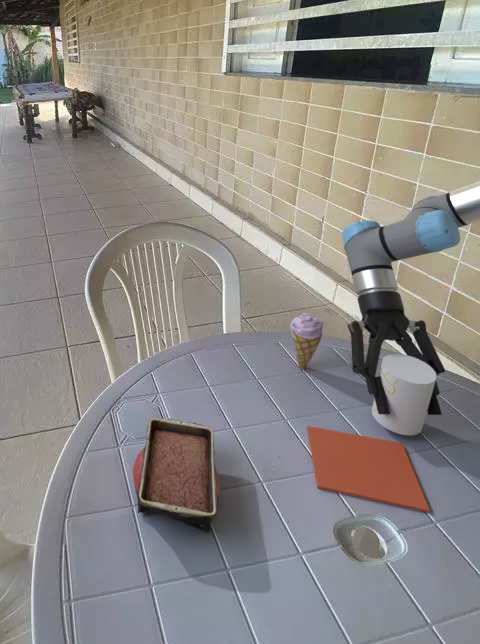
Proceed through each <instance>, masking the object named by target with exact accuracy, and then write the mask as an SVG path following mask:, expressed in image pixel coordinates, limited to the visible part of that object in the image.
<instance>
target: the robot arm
mask: <svg viewBox="0 0 480 644" xmlns="http://www.w3.org/2000/svg"><path fill="white" fill-rule="evenodd" d="M477 222H480V180H478V181H476V182H473V183H470V184H467V185H465V186H461V187H459V188H457V189H454V190H451V191H449V192H446V193H443V194H440V195H429V196H426V197H424V198H422V199H420V200H418V201H417V202H416V203H415V204H414V205H413V206H412V208H411V210H410V211H409V212H408V214H407V215H406V216H405V217H404V219H402V220H400V221H396V222H393V223H390V224H387V225H382V226H381V224H380V222H378V221H375V220H372V219H371V220H370V219H369V220H366V219H365V220H362V221H355V222H352V223H350V224H348V225H346V226H345V227H344V228H343V229H342V233H341V234H342V240H343V249H344V251H345V254H346V259H347V262H348V266H349V270H350V274H351V278H352V283H353V287H354V289H355V290H354V291H355V294H356V295H358V296H357V304H358V307H359V312H360V314H361V320H360V321H357V320H354V321H351V322H349V323H348V324H347V329H348V331H349V334H350V343H351V367H352V372H353V374H356V375H357V374H358V375H361V377H363V378H364V379H365V383H366V386H367V392H368V393H369V395H370V396H373V397H374V398H375V402H376V406H377V410H378V414H390V411H389V407H388V403H387V399H386V395H385V391H384V387H383V384H382V380H381V377H379V376H376V374H377V370H378V365H379V360H380V354H381V351H382V345H383V343H384V341H390V342H393V341H394V342H395V343H396V345H398V346H399V347H400V348H401V350H403V352H404V353H405V355H408V356H411V357H414V358H417V359H419V360H421V361H423V362H425V363H426V364H428V365H429V366H430V367H432V368H433V370H434V371H435V373H436V376H437V377H438V376H439V375H441V374H443V373H445V372H446V369H445V367H444V364H443V362H442V360H441V358H440V356H439V355H438V352H437V350H436V349H435V347H434V344H433V342H432V340H431V338H430V337H429V334H428V332H427V324H426V322H425V321H424V320H421V319H420V320H409V318H408V317H407V316H406V313H405V307H404V303H403V300H402V296H401V294H400V293H399V291H398V290H399V285H398V281H397V279H396V275H395V272H394V268H393V265H392V263H393V262H397V261H402V260H406V259H410V258H414V257H419V256H423V255H427V254H432V253H439V252H442V251H444V250H447V249H452V248H454V247H456V246H458V245H459V244H460V242H461V236H460V235H461V233H460V230H459V228H462V227H466V226H469V225H472V224H475V223H477ZM408 328H409V331H410V332H412V336H413V338H414V340H415V342H416V344H417V346H418V347H417V346H416V344H415V343H414V342H413V338H412V336H411V335H410V334H409V333H408V331H407V330H408ZM364 329H365V330H366V331H367V332H368V333H369V336H368V346H367V347H368V348H367V352H366V356H365V350H364V349H365V345H364V334H363V333H364ZM440 393H441V392H440V388H439V386H438V382H437V380H436V381H435V385H434V388H433V392H432V396H431V399H430V403H429V406H428V410H427V415H428V416H431V415H432V416H442V415H443V414H442V410H441V406H440V403H439V400H438V397H437V396H440V395H441V394H440ZM374 398H373V399H374Z"/></svg>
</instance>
